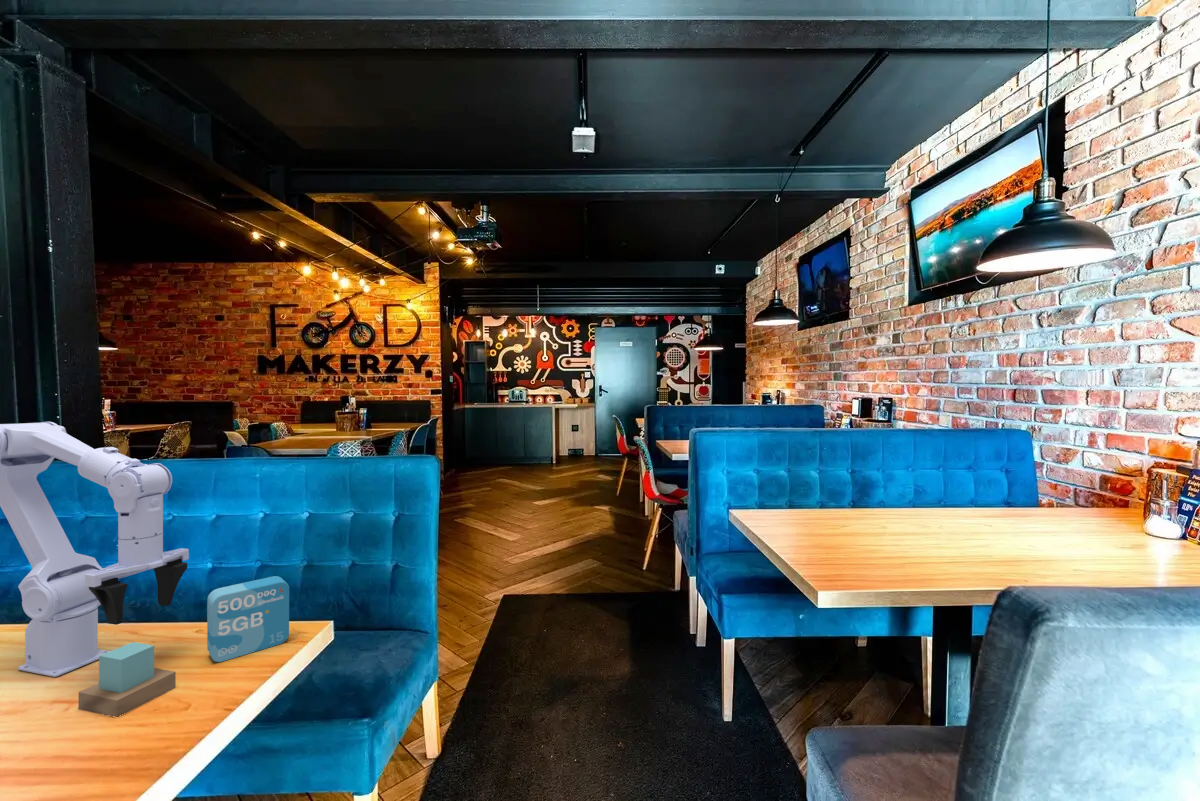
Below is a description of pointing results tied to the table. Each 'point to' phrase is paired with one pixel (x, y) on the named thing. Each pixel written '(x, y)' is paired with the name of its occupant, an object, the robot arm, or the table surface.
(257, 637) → the data package
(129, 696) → the walnut block
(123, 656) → the teal block
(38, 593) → the robot arm
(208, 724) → the table surface
